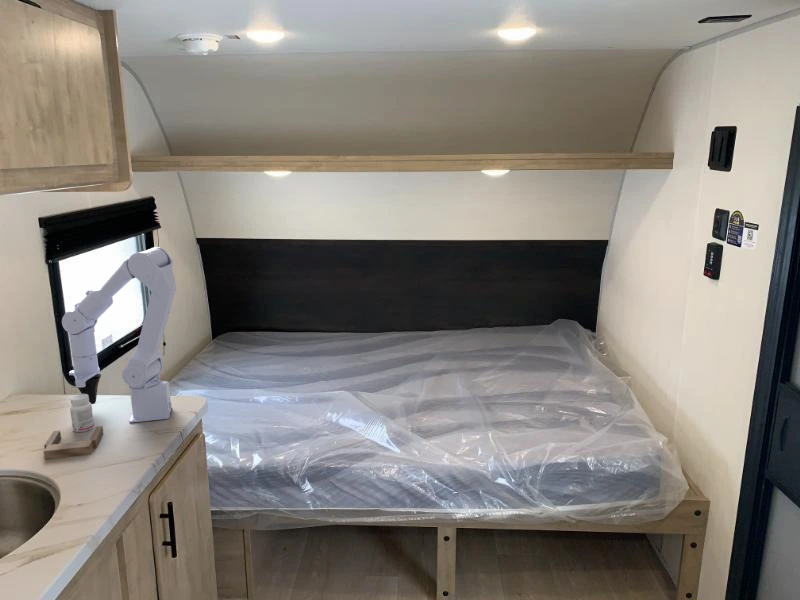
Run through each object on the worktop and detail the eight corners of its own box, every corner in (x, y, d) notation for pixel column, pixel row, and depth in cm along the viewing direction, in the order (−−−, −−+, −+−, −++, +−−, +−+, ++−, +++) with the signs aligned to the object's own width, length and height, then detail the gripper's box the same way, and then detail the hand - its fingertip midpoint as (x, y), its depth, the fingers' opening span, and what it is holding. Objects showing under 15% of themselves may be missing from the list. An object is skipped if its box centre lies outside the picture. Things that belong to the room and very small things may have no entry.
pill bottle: (98, 424, 155) (94, 393, 153) (87, 432, 150) (82, 401, 148) (80, 423, 155) (76, 392, 153) (68, 432, 150) (64, 400, 148)
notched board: (103, 433, 150) (102, 426, 149) (93, 453, 140) (92, 445, 139) (54, 438, 147) (53, 431, 147) (41, 459, 137) (40, 451, 137)
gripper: (74, 346, 163) (81, 394, 166) (59, 364, 149) (66, 416, 153) (103, 344, 165) (109, 391, 168) (90, 362, 151) (97, 413, 154)
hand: (91, 403), depth 160 cm, fingers closed
